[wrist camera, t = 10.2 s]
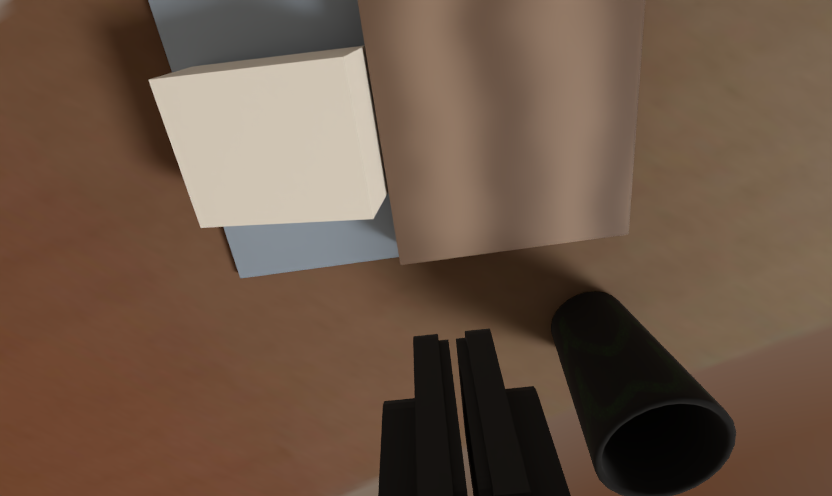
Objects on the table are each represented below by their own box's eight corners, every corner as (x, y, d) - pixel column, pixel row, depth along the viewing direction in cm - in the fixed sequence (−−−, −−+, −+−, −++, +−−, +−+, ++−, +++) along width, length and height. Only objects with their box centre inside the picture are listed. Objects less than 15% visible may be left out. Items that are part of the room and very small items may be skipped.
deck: (619, -67, 27) (650, -74, 24) (606, 211, 34) (628, 234, 31) (356, -29, 27) (352, -31, 24) (399, 240, 34) (400, 265, 31)
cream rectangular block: (365, 45, 26) (343, 56, 23) (389, 190, 30) (373, 219, 26) (192, 66, 28) (148, 79, 25) (234, 199, 32) (200, 227, 28)
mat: (353, -50, 26) (352, -51, 26) (401, 253, 35) (401, 256, 34) (145, -20, 27) (141, -21, 26) (242, 274, 35) (240, 278, 34)
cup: (522, 304, 37) (577, 432, 26) (623, 262, 36) (723, 378, 25) (556, 377, 40) (616, 516, 30) (649, 340, 39) (747, 472, 29)
